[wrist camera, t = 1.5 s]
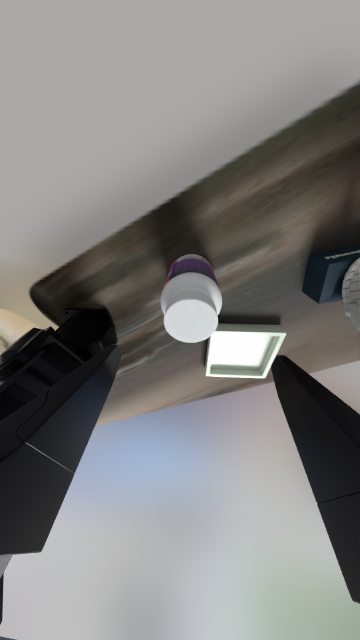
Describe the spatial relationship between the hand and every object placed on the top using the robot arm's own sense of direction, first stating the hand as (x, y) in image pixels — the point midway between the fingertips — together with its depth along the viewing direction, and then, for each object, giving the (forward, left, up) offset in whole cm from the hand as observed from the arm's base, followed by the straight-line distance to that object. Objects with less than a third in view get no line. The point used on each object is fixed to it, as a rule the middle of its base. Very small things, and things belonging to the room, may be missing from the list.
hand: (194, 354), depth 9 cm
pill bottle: (0, 0, -13) cm, 13 cm away
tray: (+8, -12, -13) cm, 19 cm away
